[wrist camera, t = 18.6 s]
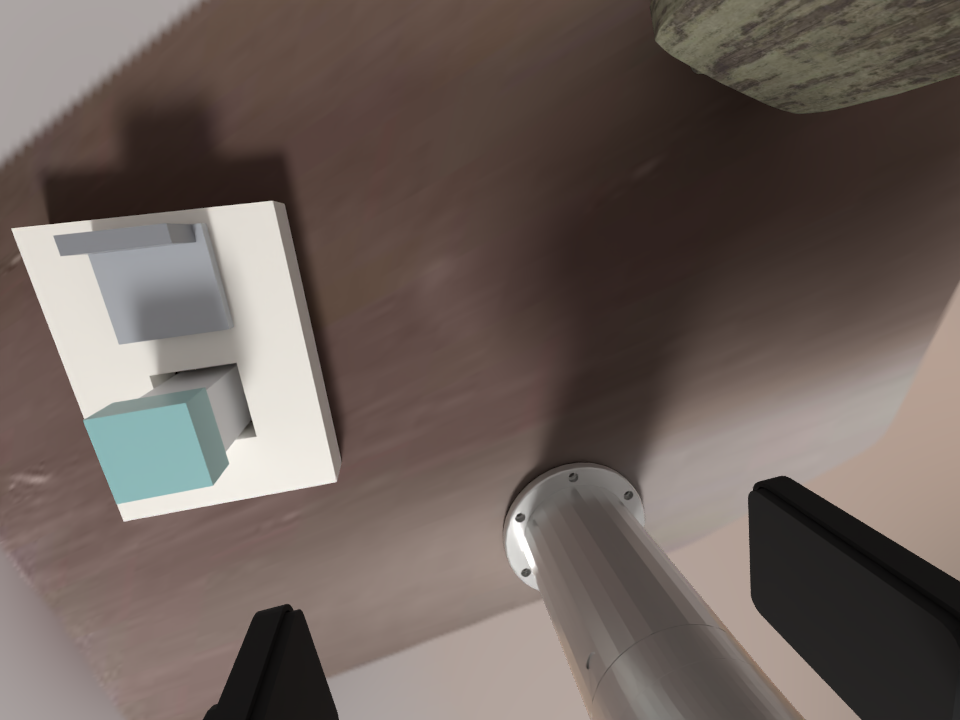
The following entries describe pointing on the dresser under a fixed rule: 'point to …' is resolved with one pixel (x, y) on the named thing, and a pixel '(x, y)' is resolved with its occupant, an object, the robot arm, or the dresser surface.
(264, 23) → the dresser surface
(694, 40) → the tabletop clock
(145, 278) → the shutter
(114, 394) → the socket
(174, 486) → the plug
